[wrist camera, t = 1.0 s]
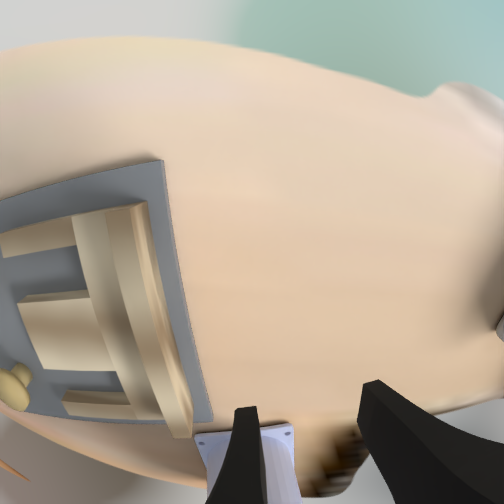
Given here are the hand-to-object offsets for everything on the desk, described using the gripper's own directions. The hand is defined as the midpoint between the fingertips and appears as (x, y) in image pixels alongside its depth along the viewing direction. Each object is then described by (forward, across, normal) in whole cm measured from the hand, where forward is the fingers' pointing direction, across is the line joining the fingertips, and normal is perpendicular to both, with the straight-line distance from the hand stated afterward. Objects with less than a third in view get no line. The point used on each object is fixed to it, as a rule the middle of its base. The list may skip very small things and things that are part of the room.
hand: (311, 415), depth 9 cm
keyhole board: (+9, +14, 0) cm, 17 cm away
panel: (+9, +11, 0) cm, 14 cm away
